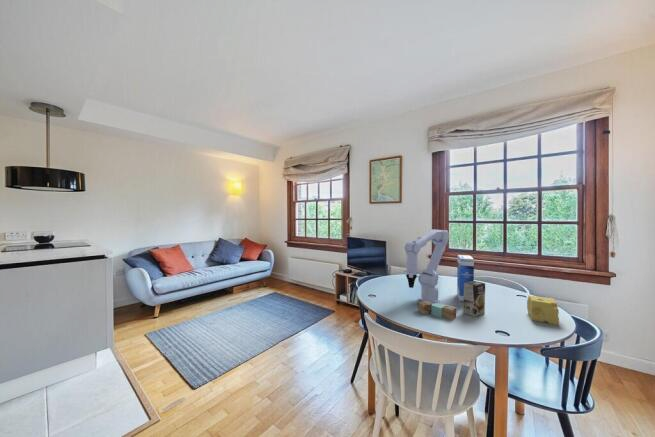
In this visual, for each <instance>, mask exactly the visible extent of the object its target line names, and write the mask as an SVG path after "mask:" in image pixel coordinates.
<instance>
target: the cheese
mask: <svg viewBox="0 0 655 437" xmlns="http://www.w3.org/2000/svg"><path fill="white" fill-rule="evenodd" d="M526 308H527V312H528V316H529V318H530V320H531V321H535V322H541V323H544V322H545V323H548V324H550V325H556V326H559V324H560V317H559V313H560V312H559V306H558V303H557V301H556V300H555V298H553V297H545V296H543V297H542V296H536V295H530V294H529V295H528V297H527V300H526Z"/></svg>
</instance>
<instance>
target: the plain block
mask: <svg viewBox="0 0 655 437" xmlns="http://www.w3.org/2000/svg"><path fill="white" fill-rule="evenodd" d="M445 305H446V304H441V303H439V302H433V304H432V305H431V314H430V315H431V316H434V317H437V318H441V319H442V318H443V317H442V307H444V306H445Z"/></svg>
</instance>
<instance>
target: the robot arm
mask: <svg viewBox="0 0 655 437" xmlns="http://www.w3.org/2000/svg"><path fill="white" fill-rule="evenodd" d="M449 240H450V233H449V231H448V230H447V229H445V230H444V229H434V228H433V229H431V230H429V232H428V233H427V234H426V235H424V236H418V237H417V238H416V239H413V240H412V241H409V242H407V243H406V244H405V245H404V250H405V254H406V268H405V270H403V273H406V274H405V276H406V278H407V279H406V280H407V283H408V287H409V288H411V289H413V288H414V286H415V285H414V284H415V282H416V280H418V283H419V284H420V288H421V289H420V297H417V300H419V301H420V302H421V301H427V302H429V303H431V304H432V303H433V304H434V303H439V302H440V300H439V288H438V287H437V285H438V282H439V281H438V280H439V274H438V273H437V269H438V267H439V264H440V262H441V260H442V256H443V254H444V251H445V249H446V246H447V245H448V242H449ZM428 242H432V244H433V245H435V246H434V249H433V251H432V254H431V257H430V260H429V261H428V264H427V267H426V268H424V269H423V270H422V271H421V272H420V274H419V275H417V274H418V256H419V255H418V253H420V251H421V250H422V248H424V247H425V246H427V244H428Z"/></svg>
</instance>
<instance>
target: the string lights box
mask: <svg viewBox="0 0 655 437" xmlns="http://www.w3.org/2000/svg"><path fill="white" fill-rule="evenodd" d="M456 264H457V275H456V277H457V282H456V283H457V285H456V286H457V290H456V292H457V293H456V296H457V297H458V301H459V302H463V300H464V283H465V282H470V281H475V280H474V279H475V274H474V272H475V259H474V258H473V256H471V255H468V254H467V255H465V254H463V255H462V254H457V263H456Z"/></svg>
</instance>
